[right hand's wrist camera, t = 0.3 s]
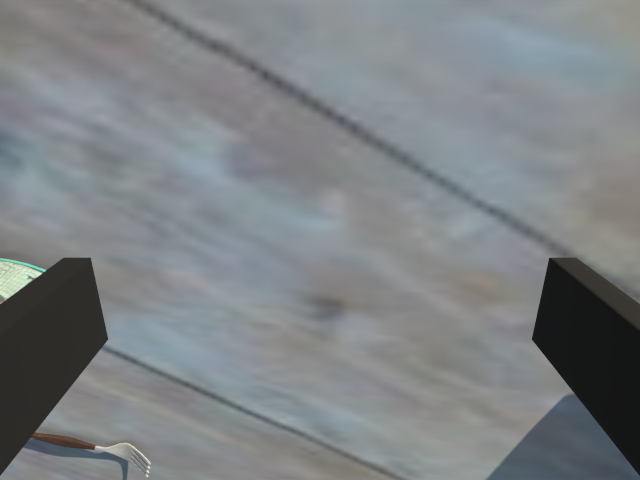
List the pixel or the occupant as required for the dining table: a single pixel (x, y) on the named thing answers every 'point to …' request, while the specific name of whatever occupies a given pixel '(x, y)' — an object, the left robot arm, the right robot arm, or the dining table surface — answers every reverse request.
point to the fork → (97, 448)
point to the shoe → (15, 276)
